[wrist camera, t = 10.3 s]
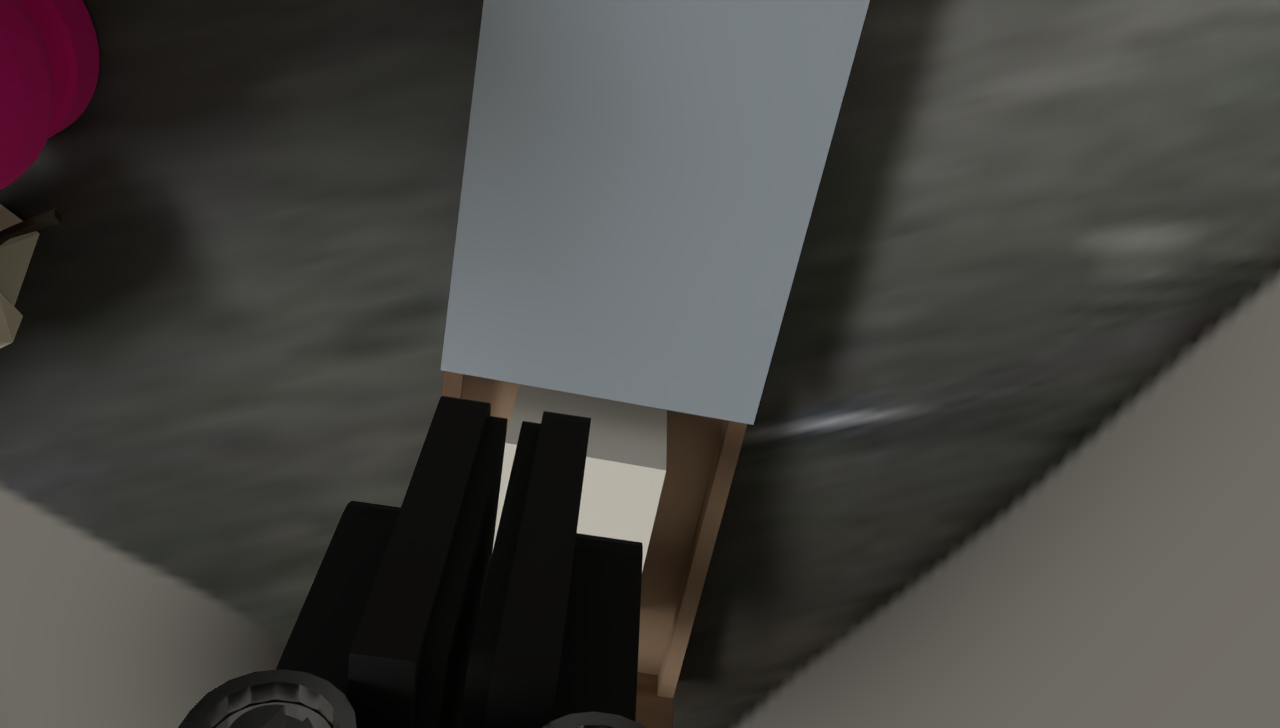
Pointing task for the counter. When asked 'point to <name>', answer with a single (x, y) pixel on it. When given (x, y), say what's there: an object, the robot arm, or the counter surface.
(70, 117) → the pepper mill
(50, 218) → the cream faceted tapered piece
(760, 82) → the slate bench
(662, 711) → the walnut box
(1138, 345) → the counter surface
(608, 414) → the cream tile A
